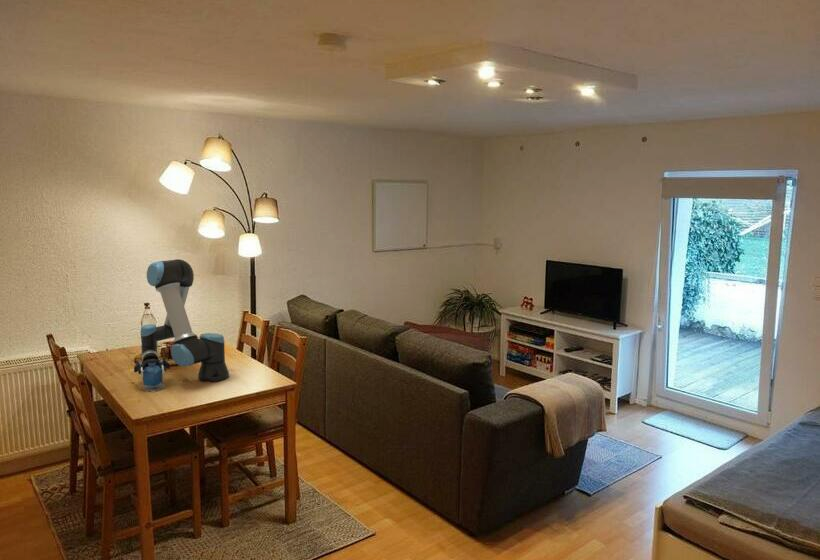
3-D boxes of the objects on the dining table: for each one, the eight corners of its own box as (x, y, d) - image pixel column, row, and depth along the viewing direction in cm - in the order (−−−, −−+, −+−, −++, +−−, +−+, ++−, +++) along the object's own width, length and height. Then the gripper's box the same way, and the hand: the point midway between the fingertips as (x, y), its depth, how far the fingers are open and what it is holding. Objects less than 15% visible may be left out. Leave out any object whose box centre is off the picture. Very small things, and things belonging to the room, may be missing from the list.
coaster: (169, 386, 291) (169, 385, 291) (154, 393, 282) (154, 391, 282) (152, 383, 295) (152, 382, 294) (137, 390, 285) (137, 389, 285)
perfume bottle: (154, 386, 284) (153, 362, 282) (143, 385, 286) (142, 361, 284) (162, 382, 290) (161, 358, 288) (151, 380, 292) (150, 357, 290)
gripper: (173, 364, 308) (177, 377, 288) (127, 368, 299) (128, 383, 279) (172, 350, 307) (176, 362, 287) (127, 354, 297) (127, 367, 277)
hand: (152, 372), depth 283 cm, fingers closed on perfume bottle, 9 cm apart
